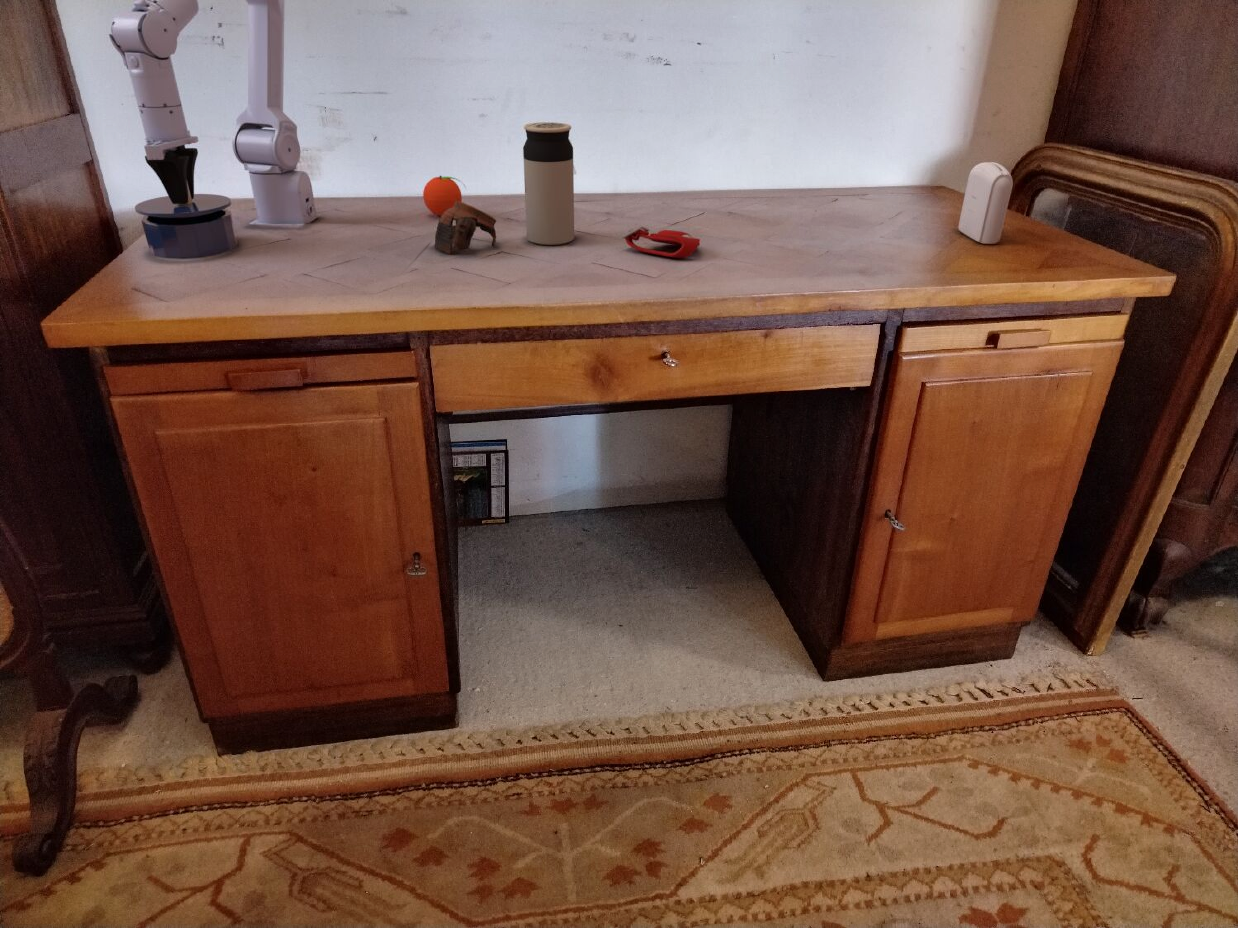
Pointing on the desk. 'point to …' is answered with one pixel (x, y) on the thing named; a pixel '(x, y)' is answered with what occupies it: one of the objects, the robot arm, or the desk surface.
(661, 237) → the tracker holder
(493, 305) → the desk surface
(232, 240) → the crock
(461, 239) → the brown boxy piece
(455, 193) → the clementine
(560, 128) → the travel mug
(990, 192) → the photo printer
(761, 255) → the desk surface
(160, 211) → the crock lid
